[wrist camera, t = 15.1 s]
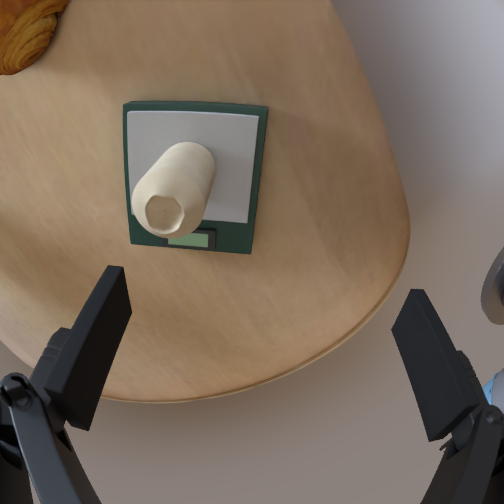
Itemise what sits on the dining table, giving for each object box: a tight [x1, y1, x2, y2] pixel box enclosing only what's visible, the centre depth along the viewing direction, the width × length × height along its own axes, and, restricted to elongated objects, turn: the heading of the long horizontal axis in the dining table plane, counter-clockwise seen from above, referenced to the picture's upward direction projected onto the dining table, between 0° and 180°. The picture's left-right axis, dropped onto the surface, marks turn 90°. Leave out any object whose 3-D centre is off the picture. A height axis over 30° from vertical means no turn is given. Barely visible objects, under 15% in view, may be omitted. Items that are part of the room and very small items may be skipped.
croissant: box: [0, 0, 68, 75], centre depth 18 cm, size 14×16×8 cm
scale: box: [123, 101, 268, 254], centre depth 32 cm, size 14×16×3 cm
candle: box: [132, 142, 216, 239], centre depth 25 cm, size 6×6×10 cm
